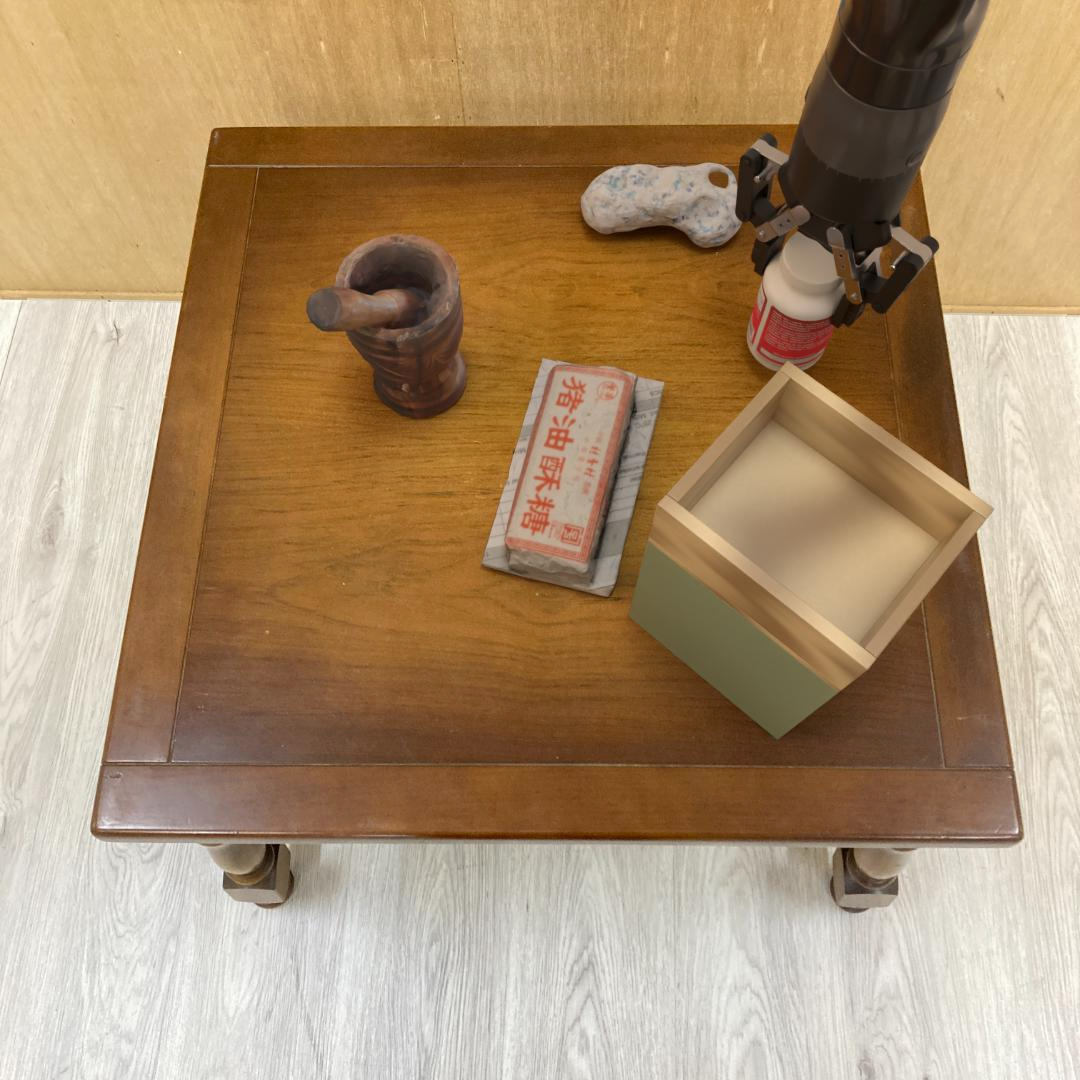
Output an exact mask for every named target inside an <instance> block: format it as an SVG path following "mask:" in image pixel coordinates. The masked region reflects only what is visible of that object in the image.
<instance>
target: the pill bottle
mask: <svg viewBox="0 0 1080 1080" xmlns="http://www.w3.org/2000/svg"><path fill="white" fill-rule="evenodd" d="M845 293H846V292H845V287H844V281H843V278H841V277H838V276H837V272H836V267H835V262H834V256H833V254H831V253H830V252H828V251H827V250H826V249H824V248H823V247H822V246H821V245H820V244H819V243H818V242H817V241H815V240H812V239H810V238H808V237H806V236H804V235H803V234H801V233H800V232H798V231H796V232H795V233H792V235H791V236H790V237H789V238H788V239H787V240H786V242H785V243H784V245H783V248H782V250H781V251H780V252H779V253H777V254H776V255H775V256H774V257H773V258H772V259H771V261H770V262H769V264H768V266H767V268H766V270H765V273H764V275H763V276H762V279H761V283H760V285H759V290H758V293H757V297H756V299H755V302H754V305H753V310H752V313H751V316H750V318H749V323H748V325H747V326H748V327H747V331H746V343H747V346H748V349H749V351H750V353H751V354H752V356H753V358H755V360H756V361H757V362H758V363H759V364H760V365H762V366H763V367H764V368H767V369H769V370H771V371H774V372H776V373H777V372H778V371H779V370H780V369H781V367H782V366H783V365H784V364H785V363H786V362H787V361H789V362H791V363H792V364H793V365H795V366H796V367H798V368H799V369H800V370H802V371H803V372H804V371H805V370H807V369H809V368H811V367H813V366H814V365H815V364H816V363H817V362H818V361H819V360H820V359H821V358H822V356H823V354H824V352H825V350H826V348H827V346H828V344H829V341H830V339H831V337H832V334H833V332H834V331H835V328H836V327H835V326H833V325H832V324H830V322H831V320H832V318H833V316H834V313H835V311H836V309H837V307H838V305H839V302H840V300H841V298H842V296H843V295H844V294H845Z"/></svg>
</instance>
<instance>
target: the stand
mask: <svg viewBox="0 0 1080 1080" xmlns="http://www.w3.org/2000/svg"><path fill="white" fill-rule="evenodd" d="M627 617H628V618H629V619H631V620H632V621H633V622H634V623H635V624H637V626H639V627H640V628H641V629H643V630H644V631H645V632H646V633H648V634H649V636H651V637H652V638H653V639H655V640H656V641H657V642H658V643H660V644H661V645H662V646H663V647H664V648H666V649H667V651H669V652H671V654H673V655H674V656H675V657H677V658H678V659H679V660H680V661H681V662H683V664H685V665H686V666H687V667H689V669H691V670H692V671H693V672H694V673H696V674H697V675H698V676H700V677H701V678H702V679H703V680H705V682H707V683H708V684H709V685H710V686H711V687H712V688H714V689H715V690H716V691H717V692H719V693H720V694H721V695H722V696H723V697H725V698H726V699H727V700H728V701H730V702H731V703H732V704H733V705H734V706H736V707H737V708H738V709H739V710H741V712H743V713H744V714H745V715H747V716H748V717H749V718H750V719H751V720H753V721H754V722H755V723H756V724H757V725H759V726H760V727H761V728H762V729H763V730H764V731H766V732H767V733H768V734H770V735H771V736H772V737H773V738H774V739H776V740H779V739H781V738H782V737H783V736H784V735H786V734H787V733H788V732H790V731H791V730H792V729H794V728H795V727H796V726H797V725H798V724H800V723H802V722H803V721H805V719H807V718H808V717H809V716H810V715H812V714H813V713H814V712H815V711H817V710H818V709H819V708H821V707H822V706H824V704H826V703H827V702H828V701H830V700H831V699H832V698H834V697H835V696H836V695H837V694H839V693H840V692H837V691H836V690H834V689H833V688H832V687H831V686H829V685H828V684H827V683H826V682H824V681H823V680H822V679H821V678H819V677H818V676H817V675H816V674H814V673H813V672H812V671H811V670H809V669H808V668H807V667H806V666H804V665H803V664H802V663H801V662H799V661H798V660H797V659H796V658H794V657H793V656H792V655H791V654H789V653H788V652H787V651H786V650H784V649H783V648H782V647H781V646H779V645H778V644H777V643H776V642H774V641H773V640H772V639H771V638H769V637H768V636H767V635H766V634H764V633H763V632H762V631H761V630H759V629H758V628H757V627H756V626H754V625H753V624H752V623H751V622H749V621H748V620H747V619H746V618H744V617H743V616H742V615H741V614H739V613H738V612H737V611H736V610H734V609H733V608H732V607H731V606H729V605H728V604H727V603H726V602H724V601H723V600H722V599H721V598H719V597H718V596H717V595H716V594H714V593H713V592H712V591H711V590H709V589H708V588H707V587H706V586H704V585H703V584H702V583H701V582H699V581H698V580H697V579H696V578H694V577H693V576H692V575H691V574H689V573H688V572H687V571H686V570H684V569H683V568H682V567H681V566H679V565H678V564H677V563H676V562H674V561H673V560H672V559H671V558H669V557H668V556H667V555H666V554H664V553H663V552H662V551H661V550H659V549H658V548H657V547H656V546H654V545H653V544H652V543H651V542H649V541H648V540H647V542H646V546H645V550H644V554H643V557H642V561H641V565H640V568H639V573H638V577H637V580H636V584H635V588H634V592H633V596H632V599H631V603H630V608H629V611H628V615H627Z"/></svg>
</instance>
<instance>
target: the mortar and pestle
mask: <svg viewBox="0 0 1080 1080" xmlns="http://www.w3.org/2000/svg"><path fill="white" fill-rule="evenodd" d="M337 271H338V272H337V273H336V274H335V277H334V279H335V281H334V284H333V286H324V287H322V288H320V289H317V290H316V291H314V292H313V293H311V294H310V295H309V296H308V299H306V303H305V306H306V307H305V311H306V315H307V317H308V319H309V322H310V323H311V324H312V325H313V326H314V327H316V328H317V329H318V330H320V331H321V332H327V333H336V332H337V333H341V332H342V333H343V332H345V334H346V336H347V338H348V340H349V341H350V343H351V345H352V346H353V348H354V349H355V350H356V351H357V352H358V354H359V355H360V356H361V358H362V359H363V360H364V361H366V362H367V363H368V364H369V366H370V368H372V369H373V374H372V377H373V380H372V385H373V386H372V387H373V389H374V391H375V393H376V396H377V397H378V398H379V400H380V401H381V402H382V403H383V404H384V405H385V406H386V407H388V408H389V409H391V410H392V411H393V412H395V413H397V414H399V415H402V416H405V417H408V418H412V419H426V418H430V417H433V416H436V415H439V414H441V413H442V412H445V411H446V410H448V409H449V408H451V407H452V406H454V404H456V403H457V402H458V401H459V399H460V398H461V396H462V395H463V393H464V390H465V387H466V384H467V364H466V360H465V358H464V357H463V355H462V353H461V351H460V350H459V347H460V343H461V339H462V337H463V333H464V321H465V317H464V307H463V300H462V297H463V296H462V291H461V282H460V276H459V275H460V274H459V270H458V264H457V261H456V260H455V258H454V257H453V255H451V254H450V253H449V252H447V250H446V249H445V248H444V247H442V246H441V245H440V244H439V243H437V242H435V240H433V239H430V238H427V237H425V236H421V235H418V234H414V233H411V234H403V233H392V234H387V235H383V236H377V237H374V238H372V239H369V240H367V241H366V242H364V243H362V244H360V245H358V246H356V247H355V248H354V249H353V250H352V251H351V252H350V253H349V254H348V255H347V256H345V258H344V259H343V260H342V262H341V264H340V266H339V268H338V270H337Z"/></svg>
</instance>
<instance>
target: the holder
mask: <svg viewBox="0 0 1080 1080" xmlns="http://www.w3.org/2000/svg"><path fill="white" fill-rule="evenodd" d="M994 511H995V508H994V507H993V506H992V505H990V504H989V503H988V502H986V501H985V500H983V498H981V497H979V496H978V495H976V494H975V493H973V492H972V491H971V490H970V489H968V488H967V487H965V486H963V485H962V484H961V483H960V482H958V481H957V480H956V479H954V478H953V477H951V476H950V475H948V473H946V472H944V471H943V470H941V468H938V467H937V466H936V465H935V464H933V463H932V462H931V461H929V460H927V459H926V457H925V458H924V456H922V455H921V454H919V453H918V452H917V451H915V450H913V449H912V448H910V447H909V446H908V445H906V444H905V442H903V441H901V440H899V438H897V437H895V436H894V435H893V434H891V433H890V432H888V431H887V430H886V429H884V428H883V427H881V426H880V424H879V425H878V424H877V423H876V422H875V421H873V420H871V419H870V418H869V417H867V416H866V415H864V414H863V413H862V412H860V411H859V410H858V409H856V408H855V407H853V406H852V405H851V404H849V403H848V402H846V400H844V399H842V398H841V397H839V396H838V395H837V394H835V393H833V391H831V390H830V389H829V388H827V387H825V386H824V385H823V384H822V383H820V382H819V381H817V380H816V379H814V378H813V377H811V375H809V374H807V373H806V372H805V371H804V370H803V371H802V370H800V369H799V368H798V367H796V366H795V365H793V364H792V363H791V362H789V361H787V362H786V363H785V364H784V365H783V366H782V367H781V369H780V370H779V371H778V372H776V373H775V374H774V375H773V376H772V377H771V378H770V379H769V380H768V382H767V383H766V384H765V385H764V386H763V387H762V388H761V389H760V390H759V392H758V393H757V394H756V395H755V396H754V397H753V398H752V399H751V400H750V401H749V403H748V404H747V405H746V406H745V407H744V408H743V409H742V410H741V411H740V412H739V414H738V415H737V416H736V417H734V419H733V420H732V421H731V422H730V423H729V424H728V426H727V427H726V428H725V429H723V431H722V432H721V433H720V434H719V435H718V437H717V438H716V439H715V440H714V441H713V442H712V443H711V444H710V445H709V447H708V448H707V449H706V450H704V452H703V453H702V454H701V456H699V458H698V459H696V461H695V462H694V463H692V465H691V466H690V467H689V469H687V471H686V472H685V473H684V474H683V475H682V476H681V477H680V478H679V479H678V480H677V481H676V482H675V483H674V485H673V486H672V487H671V488H670V489H669V490H668V492H667V493H666V494H664V496H663V497H662V498H661V499H660V500H659V502H657V504H656V507H655V512H654V515H653V516H654V517H653V520H652V523H651V528H650V531H649V534H648V539H647V542H648V541H649V542H651V543H652V544H653V545H654V546H656V547H657V548H658V549H659V550H661V551H662V552H663V553H664V554H666V555H667V556H668V557H669V558H671V559H672V560H673V561H674V562H676V563H677V564H678V565H679V566H681V567H682V568H683V569H684V570H686V571H687V572H688V573H689V574H691V575H692V576H693V577H694V578H696V579H697V580H698V581H699V582H701V583H702V584H703V585H704V586H706V587H707V588H708V589H709V590H711V591H712V592H713V593H714V594H716V595H717V596H718V597H719V598H721V599H722V600H723V601H724V602H726V603H727V604H728V605H729V606H731V607H732V608H733V609H734V610H736V611H737V612H738V613H739V614H741V615H742V616H743V617H744V618H746V619H747V620H748V621H749V622H751V623H752V624H753V625H754V626H756V627H757V628H758V629H759V630H761V631H762V632H763V633H764V634H766V635H767V636H768V637H769V638H771V639H772V640H773V641H774V642H776V643H777V644H778V645H779V646H781V647H782V648H783V649H784V650H786V651H787V652H788V653H789V654H791V655H792V656H793V657H794V658H796V659H797V660H798V661H799V662H801V663H802V664H803V665H804V666H806V667H807V668H808V669H809V670H811V671H812V672H813V673H814V674H816V675H817V676H818V677H819V678H821V679H822V680H823V681H824V682H826V683H827V684H828V685H829V686H831V687H832V688H833V689H834V690H836V691H837V692H839V693H840V692H841V691H842V690H844V689H845V688H847V686H849V685H851V684H852V683H853V682H854V681H856V680H857V679H858V678H859V677H861V676H862V675H863V674H864V673H866V672H867V671H868V670H869V669H870V668H871V667H872V666H873V665H874V663H875V662H876V660H877V659H879V656H880V655H881V654H882V653H883V651H884V650H885V649H886V648H887V647H888V646H889V644H890V643H891V641H892V640H893V639H894V637H896V635H897V634H898V632H899V631H900V630H901V629H902V628H903V626H904V625H905V623H906V622H907V621H908V620H909V619H910V617H911V616H912V615H913V614H914V612H915V611H916V610H917V608H918V607H919V606H920V604H921V603H922V602H923V601H924V599H925V598H926V597H927V596H928V594H929V593H930V592H931V590H932V589H933V588H934V587H935V586H936V584H937V583H938V582H939V581H940V579H941V578H942V576H943V575H944V574H945V573H946V571H948V569H949V568H950V566H951V565H952V564H953V563H954V562H955V560H956V559H957V558H958V556H959V555H960V554H961V552H962V551H963V550H964V549H965V547H966V546H967V545H968V543H970V541H971V540H972V539H973V538H974V536H975V535H976V533H977V532H978V531H979V530H980V529H981V527H982V526H983V524H984V523H985V522H986V520H987V519H988V518H989V517H990V515H992V513H993V512H994Z"/></svg>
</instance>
